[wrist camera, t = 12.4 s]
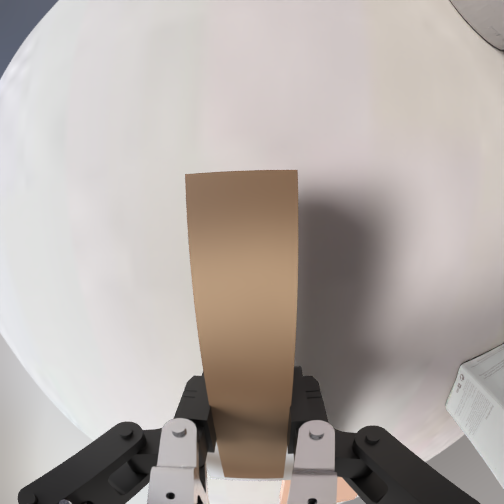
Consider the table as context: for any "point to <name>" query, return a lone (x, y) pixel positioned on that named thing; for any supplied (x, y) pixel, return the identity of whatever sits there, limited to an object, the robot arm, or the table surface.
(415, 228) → the table surface
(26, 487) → the robot arm
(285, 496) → the tile
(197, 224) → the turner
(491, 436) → the skincare box
